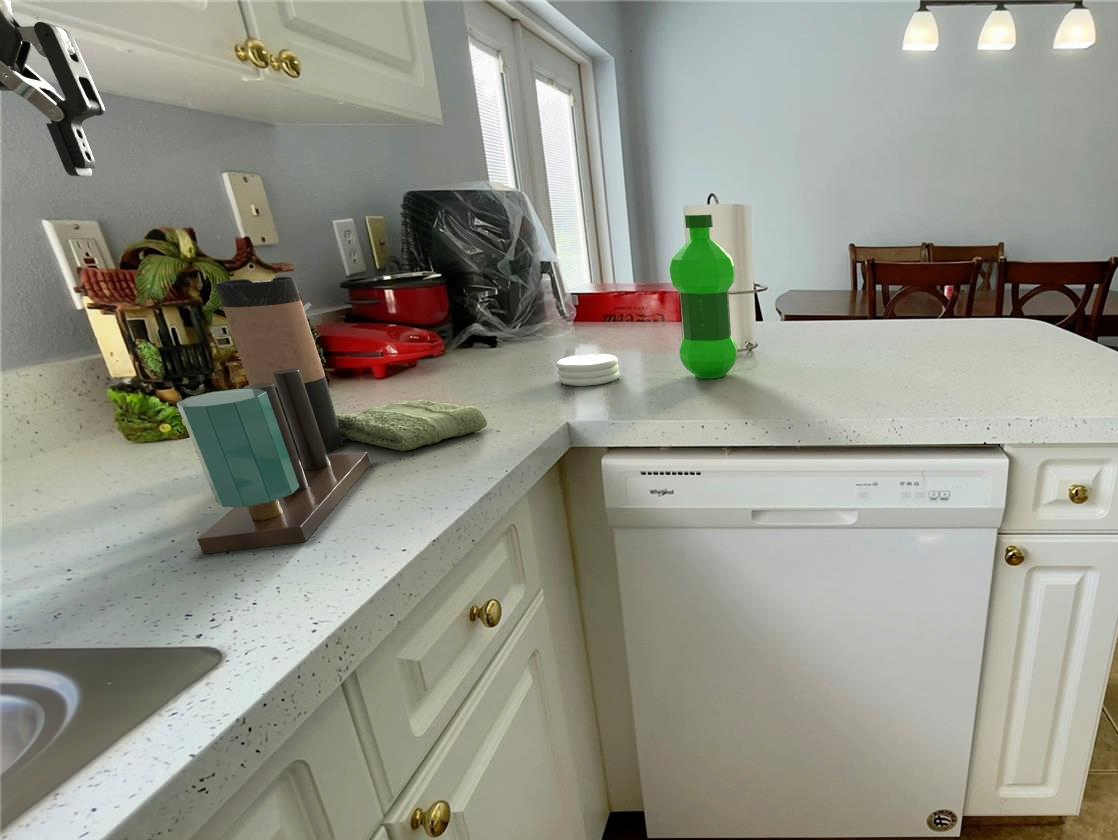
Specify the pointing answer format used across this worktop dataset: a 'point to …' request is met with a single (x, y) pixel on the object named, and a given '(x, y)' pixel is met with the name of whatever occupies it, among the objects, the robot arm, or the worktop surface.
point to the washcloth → (410, 424)
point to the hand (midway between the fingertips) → (18, 176)
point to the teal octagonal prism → (239, 446)
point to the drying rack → (314, 471)
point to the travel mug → (278, 343)
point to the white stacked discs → (588, 369)
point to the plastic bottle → (704, 301)
